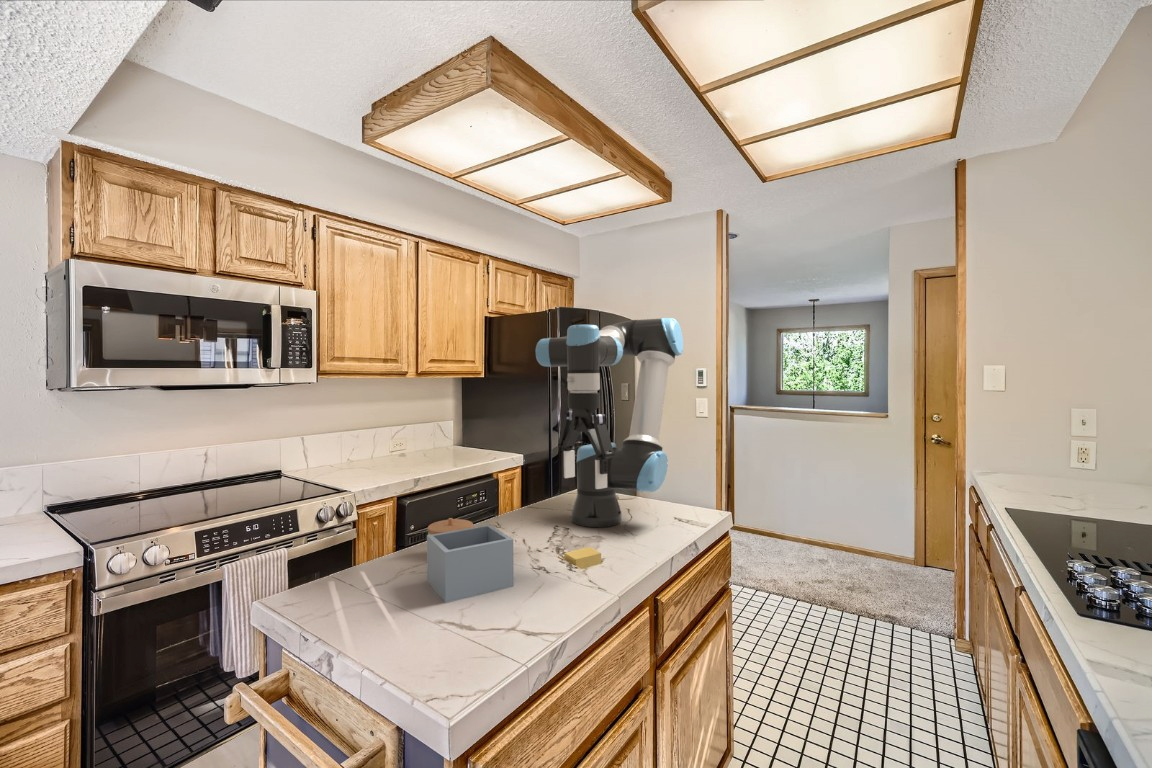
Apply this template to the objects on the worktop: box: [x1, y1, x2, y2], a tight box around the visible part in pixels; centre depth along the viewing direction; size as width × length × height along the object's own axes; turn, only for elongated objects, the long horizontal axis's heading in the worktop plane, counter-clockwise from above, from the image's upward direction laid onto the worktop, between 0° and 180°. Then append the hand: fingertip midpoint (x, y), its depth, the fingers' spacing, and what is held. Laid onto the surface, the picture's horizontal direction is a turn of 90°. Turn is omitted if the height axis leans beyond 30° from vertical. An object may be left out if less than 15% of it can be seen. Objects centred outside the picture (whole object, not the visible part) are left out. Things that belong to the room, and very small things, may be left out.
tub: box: [426, 524, 515, 604], centre depth 104 cm, size 14×12×11 cm
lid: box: [556, 546, 602, 572], centre depth 116 cm, size 21×12×2 cm, turn 122°
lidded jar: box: [427, 517, 474, 535], centre depth 124 cm, size 11×11×9 cm
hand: (584, 482), depth 119 cm, fingers open, 13 cm apart
